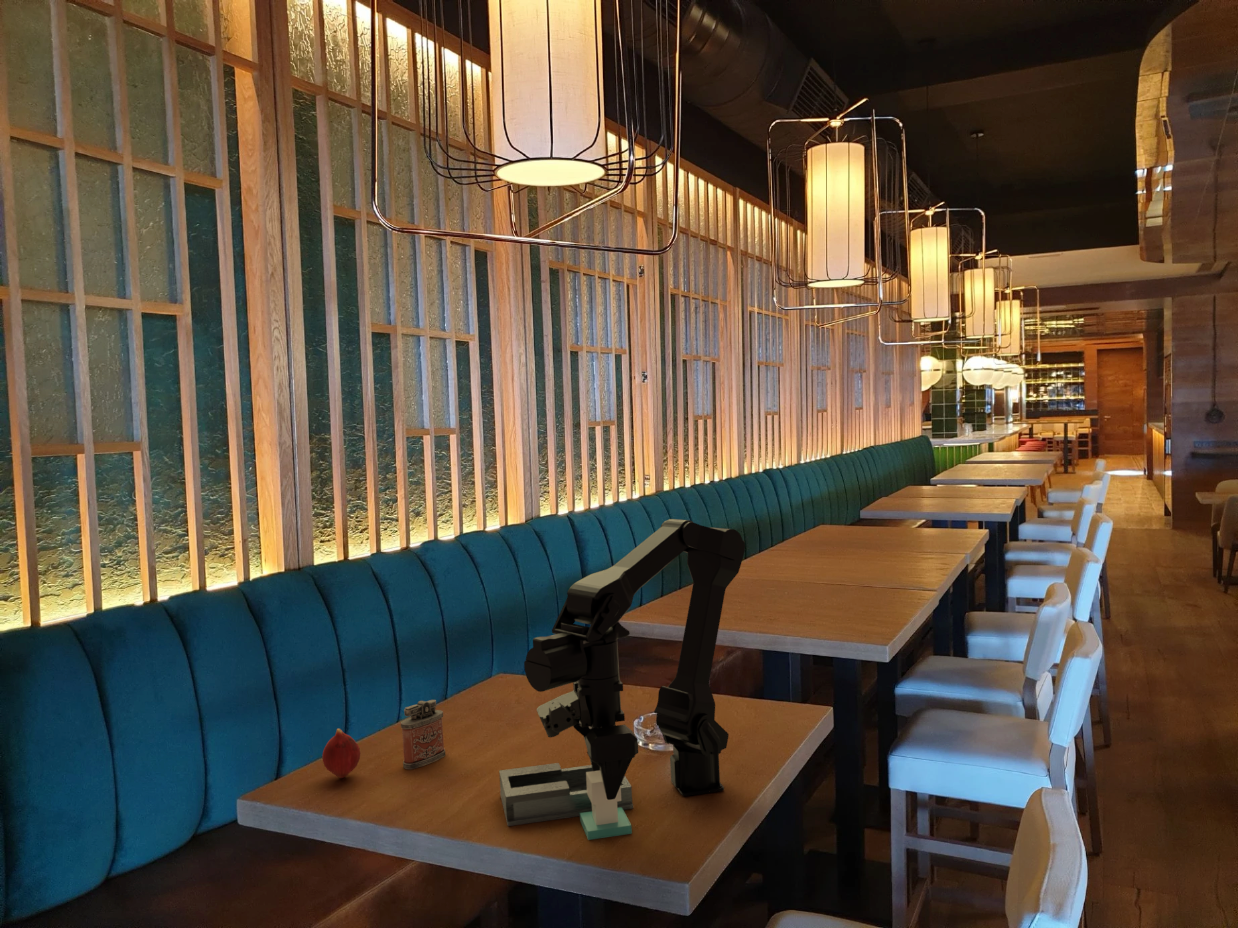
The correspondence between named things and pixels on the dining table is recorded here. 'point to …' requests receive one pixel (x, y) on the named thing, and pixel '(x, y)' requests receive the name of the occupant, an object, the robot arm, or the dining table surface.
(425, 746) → the lighter
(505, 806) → the keyhole guide
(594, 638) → the robot arm
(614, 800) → the slider
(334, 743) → the onion
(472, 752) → the dining table surface
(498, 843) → the dining table surface
